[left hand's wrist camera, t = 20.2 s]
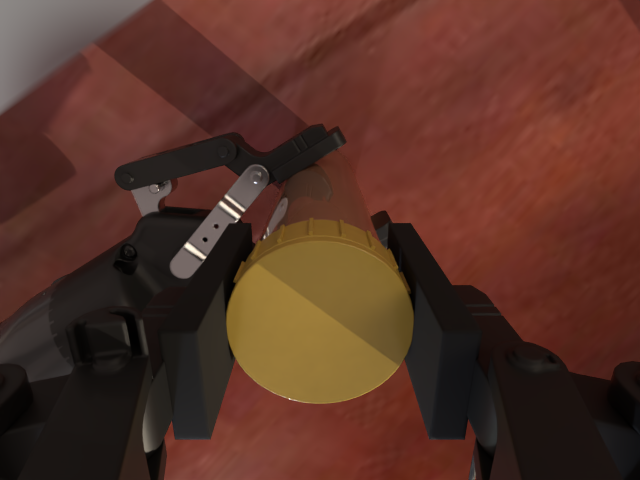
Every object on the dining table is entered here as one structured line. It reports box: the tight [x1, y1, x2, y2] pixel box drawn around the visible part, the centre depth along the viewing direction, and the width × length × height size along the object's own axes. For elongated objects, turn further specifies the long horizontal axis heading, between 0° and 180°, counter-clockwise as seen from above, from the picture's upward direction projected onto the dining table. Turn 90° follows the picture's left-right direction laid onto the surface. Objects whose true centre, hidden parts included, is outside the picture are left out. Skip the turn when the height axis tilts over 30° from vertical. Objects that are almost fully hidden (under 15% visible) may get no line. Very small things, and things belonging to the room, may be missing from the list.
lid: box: [226, 218, 414, 403], centre depth 11 cm, size 5×5×2 cm
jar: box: [260, 150, 382, 244], centre depth 19 cm, size 4×4×17 cm
